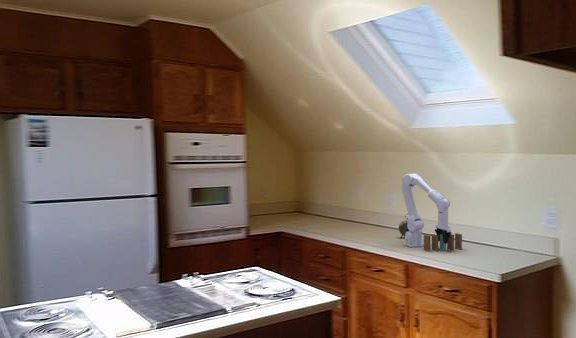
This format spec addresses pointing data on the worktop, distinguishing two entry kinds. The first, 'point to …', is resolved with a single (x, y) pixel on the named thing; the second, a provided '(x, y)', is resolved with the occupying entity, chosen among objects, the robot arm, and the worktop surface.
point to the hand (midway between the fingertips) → (442, 242)
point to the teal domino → (442, 245)
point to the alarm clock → (403, 227)
